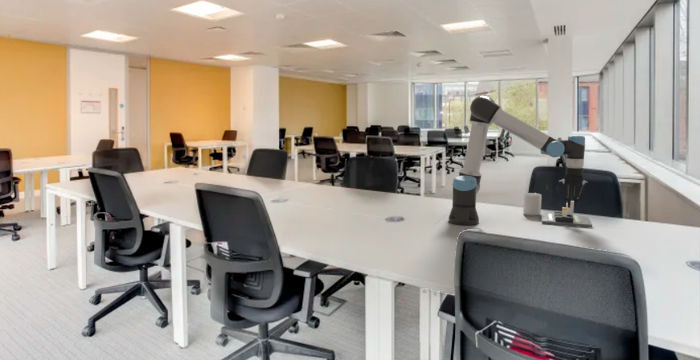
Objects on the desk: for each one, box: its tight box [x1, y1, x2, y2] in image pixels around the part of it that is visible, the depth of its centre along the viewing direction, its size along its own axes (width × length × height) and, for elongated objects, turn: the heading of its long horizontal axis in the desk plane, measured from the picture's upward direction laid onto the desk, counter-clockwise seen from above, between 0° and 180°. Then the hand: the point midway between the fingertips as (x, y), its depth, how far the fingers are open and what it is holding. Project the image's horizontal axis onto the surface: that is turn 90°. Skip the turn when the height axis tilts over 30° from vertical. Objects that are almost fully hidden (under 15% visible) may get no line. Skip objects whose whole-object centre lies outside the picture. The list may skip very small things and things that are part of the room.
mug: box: [522, 192, 542, 216], centre depth 232 cm, size 12×9×11 cm
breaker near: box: [561, 206, 567, 217], centre depth 208 cm, size 2×3×4 cm
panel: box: [541, 210, 593, 229], centre depth 213 cm, size 22×18×4 cm
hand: (571, 214), depth 207 cm, fingers closed
